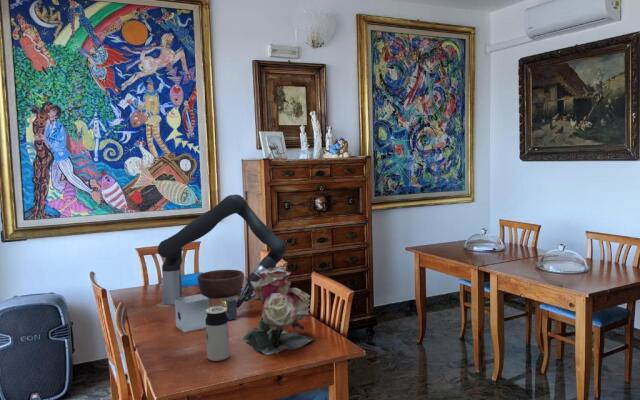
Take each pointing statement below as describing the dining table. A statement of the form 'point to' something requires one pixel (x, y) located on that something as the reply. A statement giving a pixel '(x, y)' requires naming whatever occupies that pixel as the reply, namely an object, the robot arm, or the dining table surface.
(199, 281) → the wooden bowl
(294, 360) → the dining table surface
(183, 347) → the dining table surface
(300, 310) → the rose bouquet
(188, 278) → the book
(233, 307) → the dark boxy piece
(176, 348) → the dining table surface
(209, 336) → the travel mug
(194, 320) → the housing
